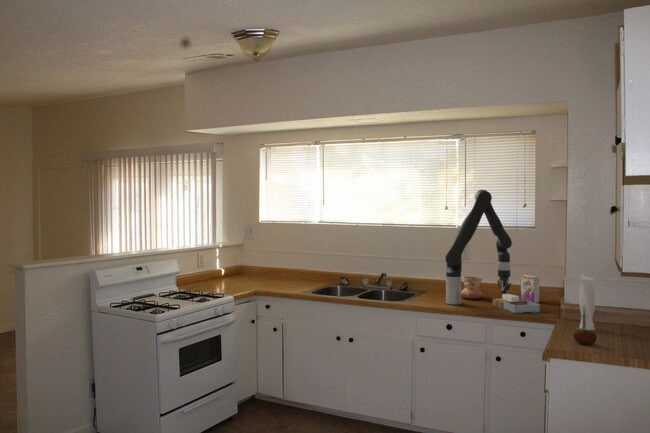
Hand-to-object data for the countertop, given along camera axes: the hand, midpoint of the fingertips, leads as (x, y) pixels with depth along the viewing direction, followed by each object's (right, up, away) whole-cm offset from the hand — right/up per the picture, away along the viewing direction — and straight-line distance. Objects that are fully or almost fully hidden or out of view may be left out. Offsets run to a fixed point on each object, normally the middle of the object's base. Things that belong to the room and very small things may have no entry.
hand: (504, 296), depth 350 cm
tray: (+4, -5, -20) cm, 21 cm away
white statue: (+20, -7, -68) cm, 71 cm away
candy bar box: (+19, -5, +9) cm, 22 cm away
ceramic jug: (-14, -5, +23) cm, 27 cm away
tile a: (+1, -1, -5) cm, 5 cm away
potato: (+5, -8, -98) cm, 98 cm away
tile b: (+2, -1, -11) cm, 11 cm away
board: (+1, -5, -7) cm, 9 cm away
